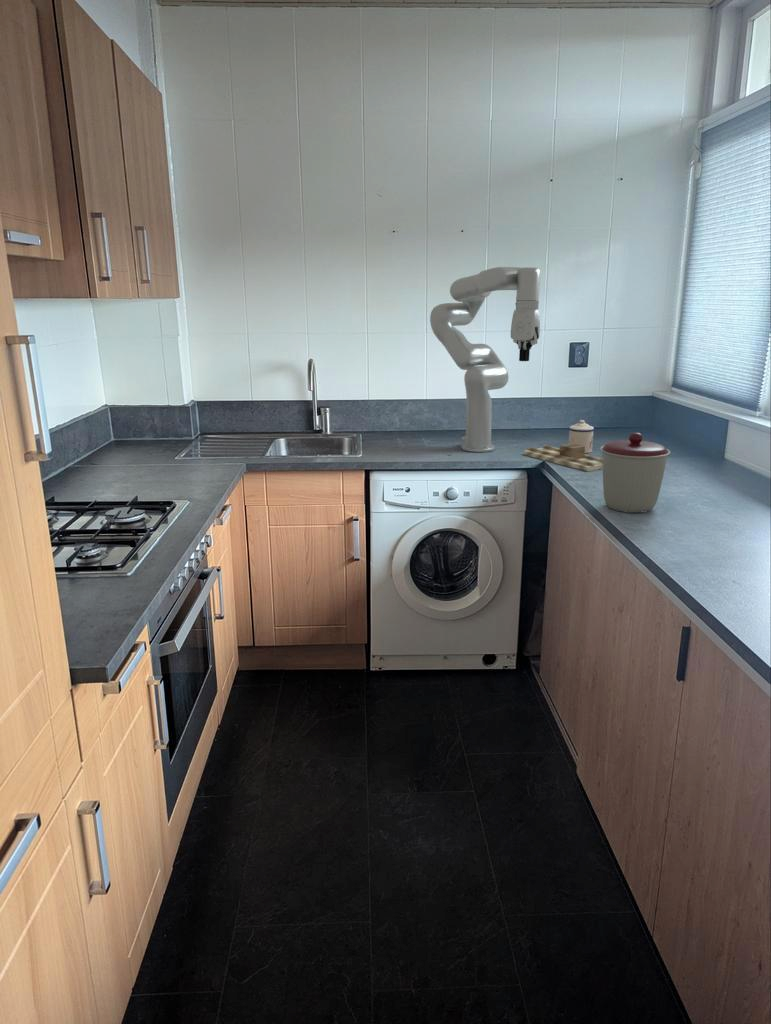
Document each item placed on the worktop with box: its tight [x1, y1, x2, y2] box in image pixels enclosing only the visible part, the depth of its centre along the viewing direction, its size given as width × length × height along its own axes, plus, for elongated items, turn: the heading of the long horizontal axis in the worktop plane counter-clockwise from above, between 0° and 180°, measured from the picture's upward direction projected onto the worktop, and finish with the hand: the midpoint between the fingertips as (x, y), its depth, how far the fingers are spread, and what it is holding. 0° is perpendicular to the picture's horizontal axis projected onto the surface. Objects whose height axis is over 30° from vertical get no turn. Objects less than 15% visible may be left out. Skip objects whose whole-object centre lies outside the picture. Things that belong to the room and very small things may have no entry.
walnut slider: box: [559, 443, 586, 459], centre depth 255 cm, size 6×6×4 cm
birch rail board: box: [523, 444, 603, 472], centre depth 258 cm, size 32×12×2 cm, turn 31°
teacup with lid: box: [568, 419, 595, 454], centre depth 273 cm, size 12×9×12 cm
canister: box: [599, 432, 671, 513], centre depth 198 cm, size 18×18×21 cm
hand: (524, 360), depth 252 cm, fingers closed
